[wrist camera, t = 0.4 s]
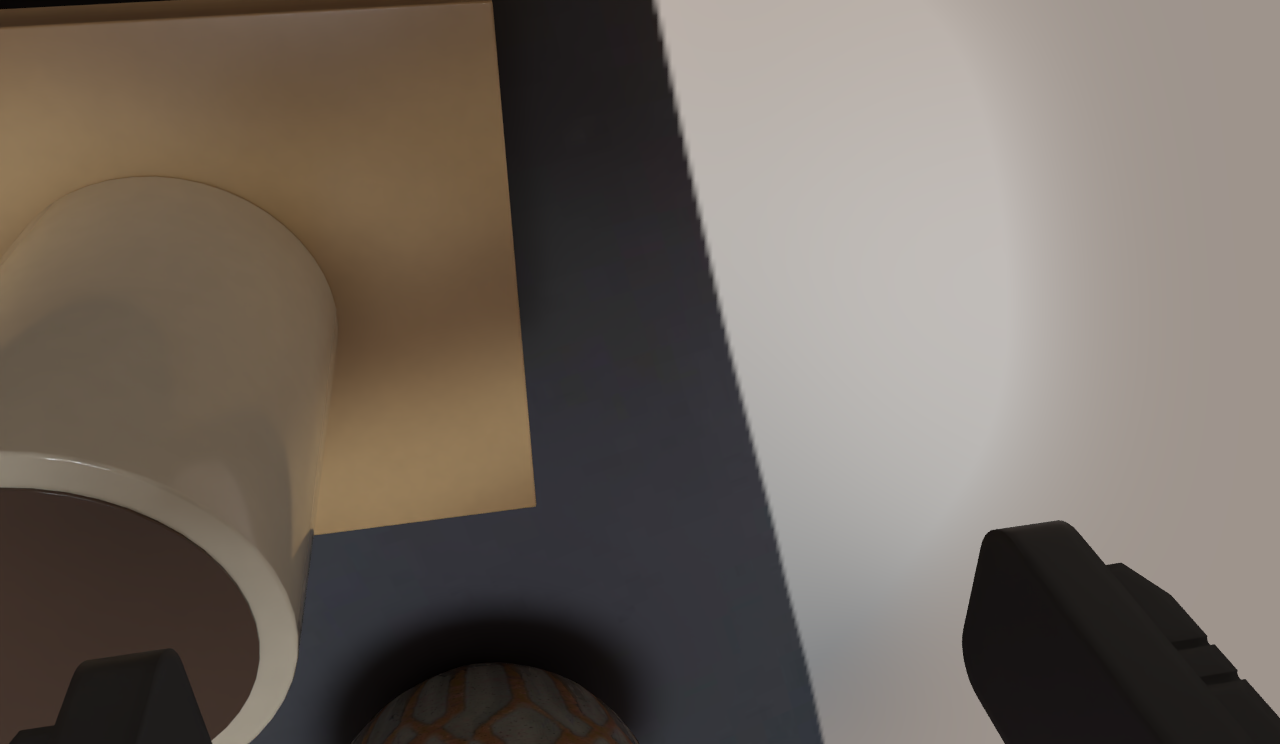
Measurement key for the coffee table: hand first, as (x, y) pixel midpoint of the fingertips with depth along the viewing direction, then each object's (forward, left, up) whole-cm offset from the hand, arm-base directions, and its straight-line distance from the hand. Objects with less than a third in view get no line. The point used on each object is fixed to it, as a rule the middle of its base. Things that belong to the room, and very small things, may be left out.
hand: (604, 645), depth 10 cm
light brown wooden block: (+2, -7, -22) cm, 23 cm away
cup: (+2, -7, -12) cm, 15 cm away
